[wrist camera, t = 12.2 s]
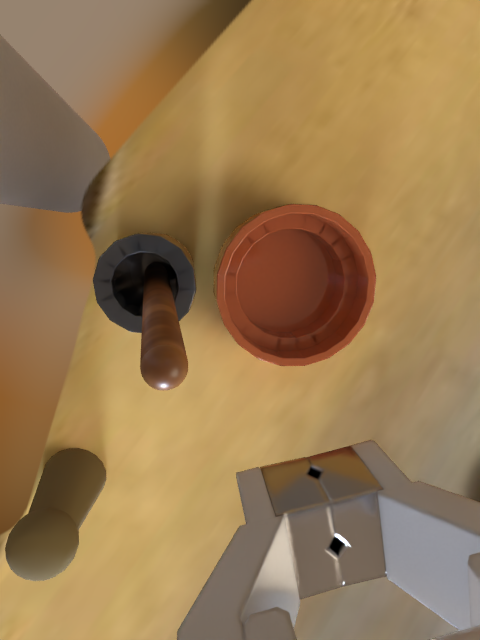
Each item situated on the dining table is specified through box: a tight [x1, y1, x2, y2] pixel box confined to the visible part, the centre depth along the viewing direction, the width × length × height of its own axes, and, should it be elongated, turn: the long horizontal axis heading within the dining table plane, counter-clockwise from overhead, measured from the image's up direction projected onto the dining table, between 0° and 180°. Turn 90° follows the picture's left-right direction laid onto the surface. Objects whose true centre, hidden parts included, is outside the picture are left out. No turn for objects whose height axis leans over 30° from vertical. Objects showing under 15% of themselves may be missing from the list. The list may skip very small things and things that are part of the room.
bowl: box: [213, 204, 376, 366], centre depth 37 cm, size 13×13×6 cm
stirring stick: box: [140, 263, 188, 390], centre depth 27 cm, size 2×2×22 cm
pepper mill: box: [5, 448, 106, 581], centre depth 36 cm, size 6×6×11 cm
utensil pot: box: [93, 232, 196, 333], centre depth 34 cm, size 7×7×10 cm
